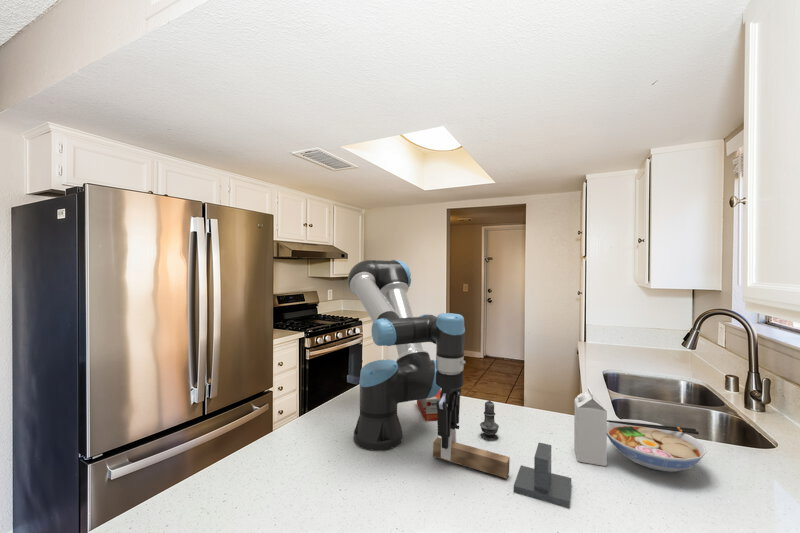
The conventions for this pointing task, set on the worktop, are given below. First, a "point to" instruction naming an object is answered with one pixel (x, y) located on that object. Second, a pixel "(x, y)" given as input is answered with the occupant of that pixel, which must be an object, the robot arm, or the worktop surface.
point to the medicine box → (429, 407)
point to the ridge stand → (543, 480)
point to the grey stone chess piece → (489, 423)
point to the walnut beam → (475, 458)
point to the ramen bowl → (656, 444)
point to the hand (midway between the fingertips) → (448, 455)
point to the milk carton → (590, 429)
